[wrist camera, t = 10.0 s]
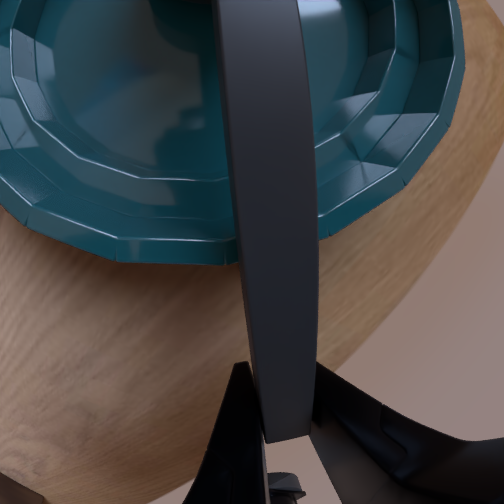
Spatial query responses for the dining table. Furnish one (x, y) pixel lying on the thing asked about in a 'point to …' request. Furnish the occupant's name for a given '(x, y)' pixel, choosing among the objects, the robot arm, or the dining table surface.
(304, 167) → the ladle
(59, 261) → the dining table surface
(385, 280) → the dining table surface
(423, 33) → the bowl
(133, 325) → the dining table surface
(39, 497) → the brown rectangular block
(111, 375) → the dining table surface
